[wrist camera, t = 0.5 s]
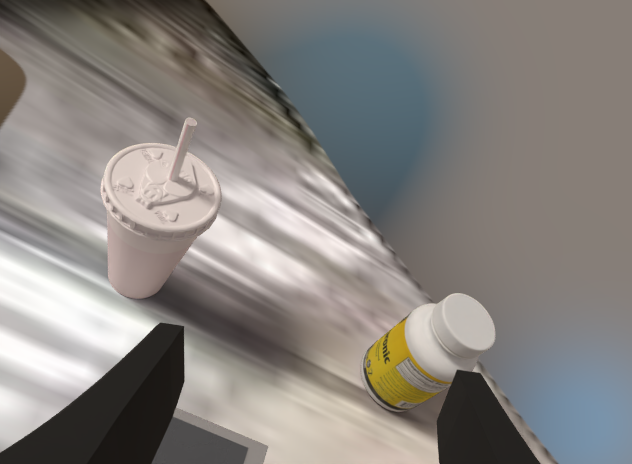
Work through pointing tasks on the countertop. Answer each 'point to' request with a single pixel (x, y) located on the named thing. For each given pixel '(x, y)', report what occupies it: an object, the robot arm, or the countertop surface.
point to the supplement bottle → (426, 352)
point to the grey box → (205, 443)
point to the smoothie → (155, 211)
